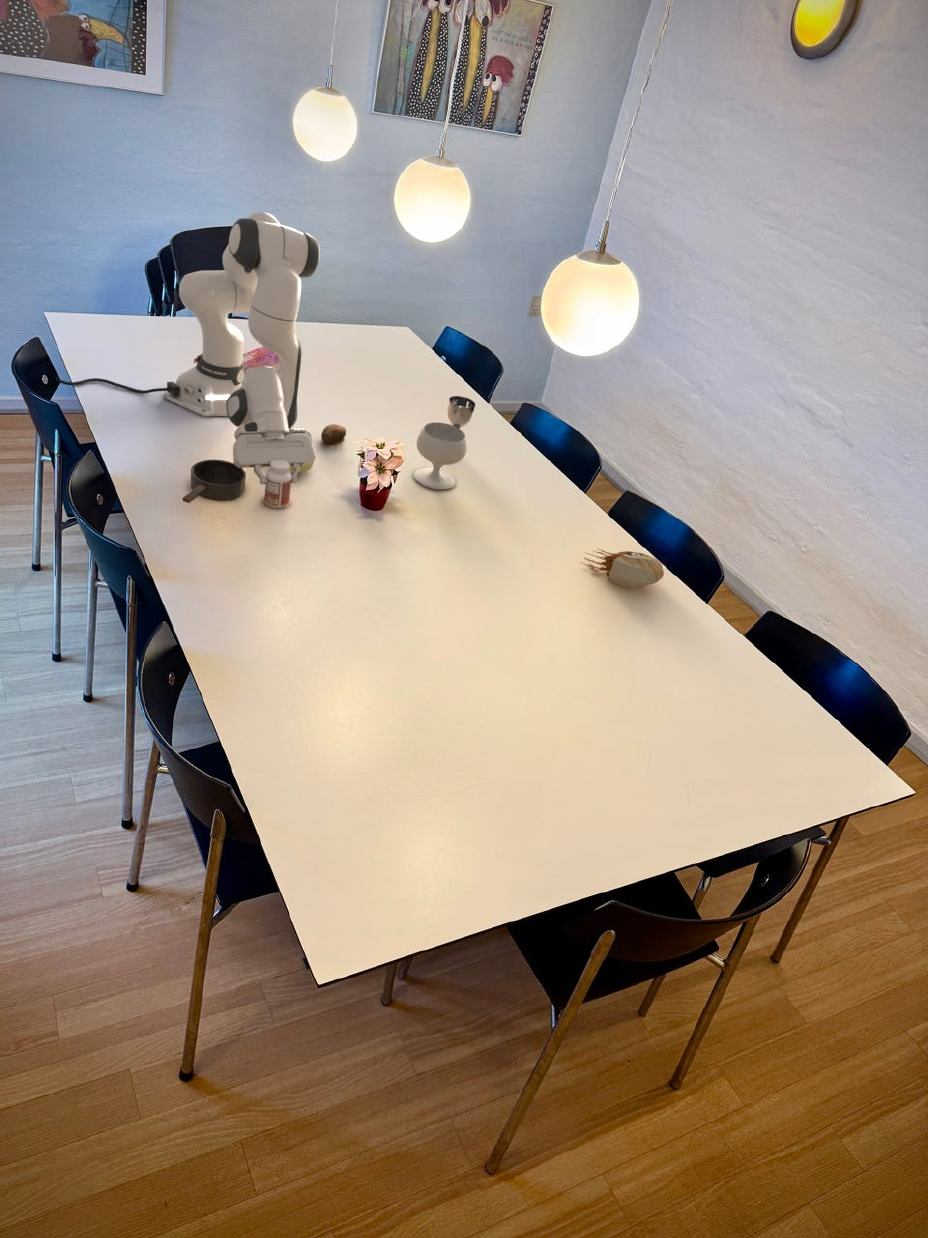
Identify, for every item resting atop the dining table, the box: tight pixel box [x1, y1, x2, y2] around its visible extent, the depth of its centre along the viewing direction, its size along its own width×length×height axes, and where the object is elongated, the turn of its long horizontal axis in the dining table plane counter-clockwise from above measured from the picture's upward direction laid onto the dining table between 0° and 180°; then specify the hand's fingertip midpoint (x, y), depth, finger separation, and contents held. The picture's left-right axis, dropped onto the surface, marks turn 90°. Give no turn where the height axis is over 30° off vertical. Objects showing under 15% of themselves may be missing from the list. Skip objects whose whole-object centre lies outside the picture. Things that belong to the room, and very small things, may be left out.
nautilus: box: [579, 548, 665, 589], centre depth 228 cm, size 8×22×15 cm
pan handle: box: [182, 483, 208, 504], centre depth 212 cm, size 2×9×1 cm, turn 165°
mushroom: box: [320, 423, 347, 447], centre depth 255 cm, size 8×8×6 cm
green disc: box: [289, 462, 314, 473], centre depth 239 cm, size 11×11×2 cm
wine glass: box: [447, 395, 476, 430], centre depth 267 cm, size 8×8×15 cm
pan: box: [190, 459, 247, 502], centre depth 222 cm, size 13×13×4 cm
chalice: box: [413, 421, 468, 490], centre depth 247 cm, size 14×14×15 cm
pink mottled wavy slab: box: [243, 345, 303, 373], centre depth 288 cm, size 30×15×5 cm, turn 158°
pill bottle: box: [263, 460, 292, 509], centre depth 220 cm, size 6×6×11 cm
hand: (279, 483), depth 220 cm, fingers closed on pill bottle, 6 cm apart
